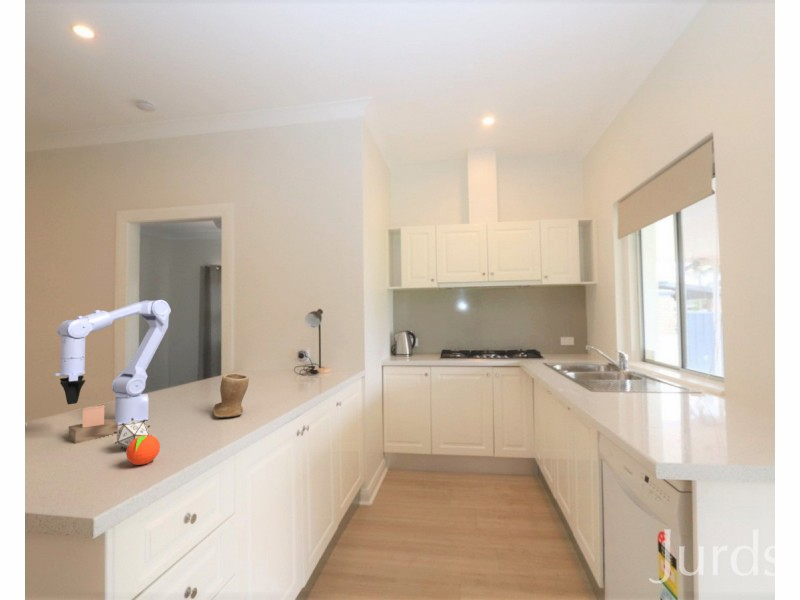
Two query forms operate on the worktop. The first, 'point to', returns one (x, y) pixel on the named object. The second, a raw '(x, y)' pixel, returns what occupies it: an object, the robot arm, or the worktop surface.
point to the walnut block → (92, 431)
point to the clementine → (143, 449)
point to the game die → (131, 432)
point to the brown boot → (231, 395)
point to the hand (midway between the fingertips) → (71, 401)
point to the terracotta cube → (93, 416)
